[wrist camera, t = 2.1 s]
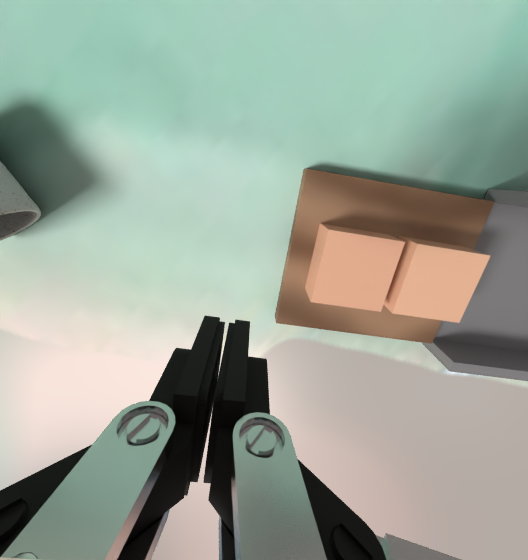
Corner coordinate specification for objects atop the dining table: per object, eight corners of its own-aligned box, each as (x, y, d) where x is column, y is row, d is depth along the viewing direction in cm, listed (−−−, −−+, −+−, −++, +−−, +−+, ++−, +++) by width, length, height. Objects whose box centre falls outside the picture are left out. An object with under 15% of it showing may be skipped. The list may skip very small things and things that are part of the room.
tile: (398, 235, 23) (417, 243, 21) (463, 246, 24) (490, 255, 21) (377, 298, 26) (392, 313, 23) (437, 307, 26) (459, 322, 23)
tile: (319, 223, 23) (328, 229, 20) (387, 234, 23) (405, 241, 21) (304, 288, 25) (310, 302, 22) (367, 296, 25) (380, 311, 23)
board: (303, 169, 23) (306, 168, 21) (480, 200, 24) (494, 201, 23) (275, 315, 28) (275, 322, 26) (422, 334, 29) (431, 343, 27)
